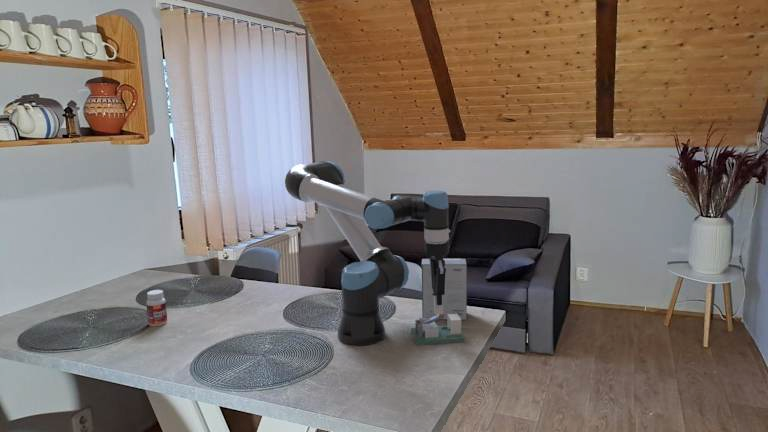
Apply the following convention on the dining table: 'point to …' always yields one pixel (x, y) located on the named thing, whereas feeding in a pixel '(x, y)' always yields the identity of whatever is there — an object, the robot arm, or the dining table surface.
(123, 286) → the dining table surface
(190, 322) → the dining table surface
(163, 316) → the pill bottle
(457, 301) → the hard drive box
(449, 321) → the white open-sided box
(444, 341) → the board
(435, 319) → the grey rectangular bar
